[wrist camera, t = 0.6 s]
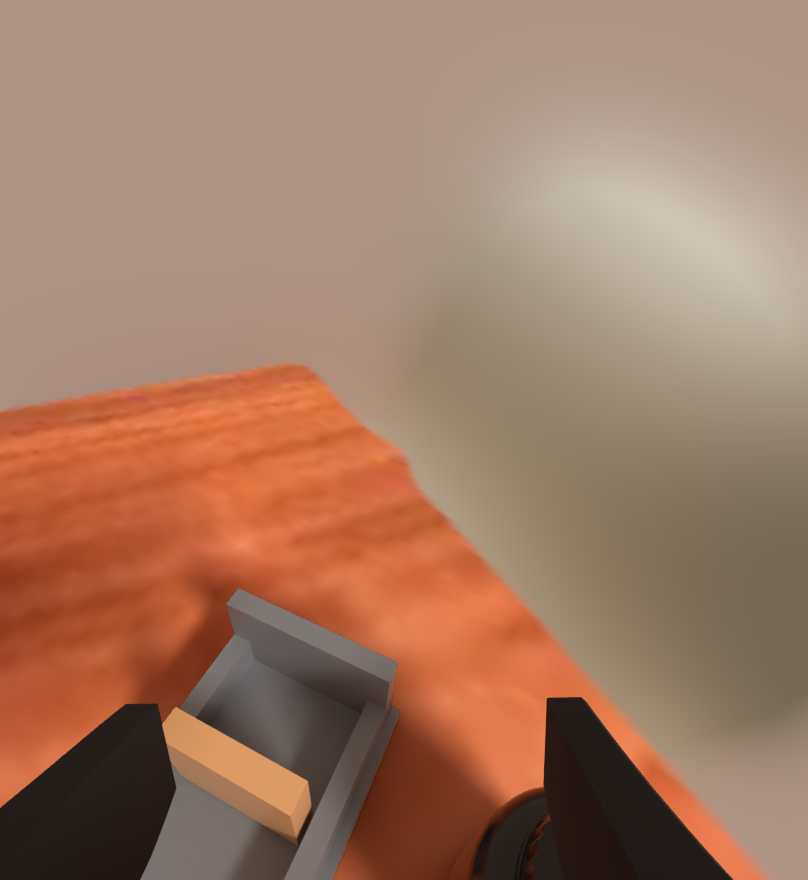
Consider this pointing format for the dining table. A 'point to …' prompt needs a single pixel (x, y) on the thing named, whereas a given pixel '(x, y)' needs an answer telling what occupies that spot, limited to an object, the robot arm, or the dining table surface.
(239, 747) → the pusher plate
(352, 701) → the lane tray
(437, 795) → the dining table surface
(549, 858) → the supplement bottle
